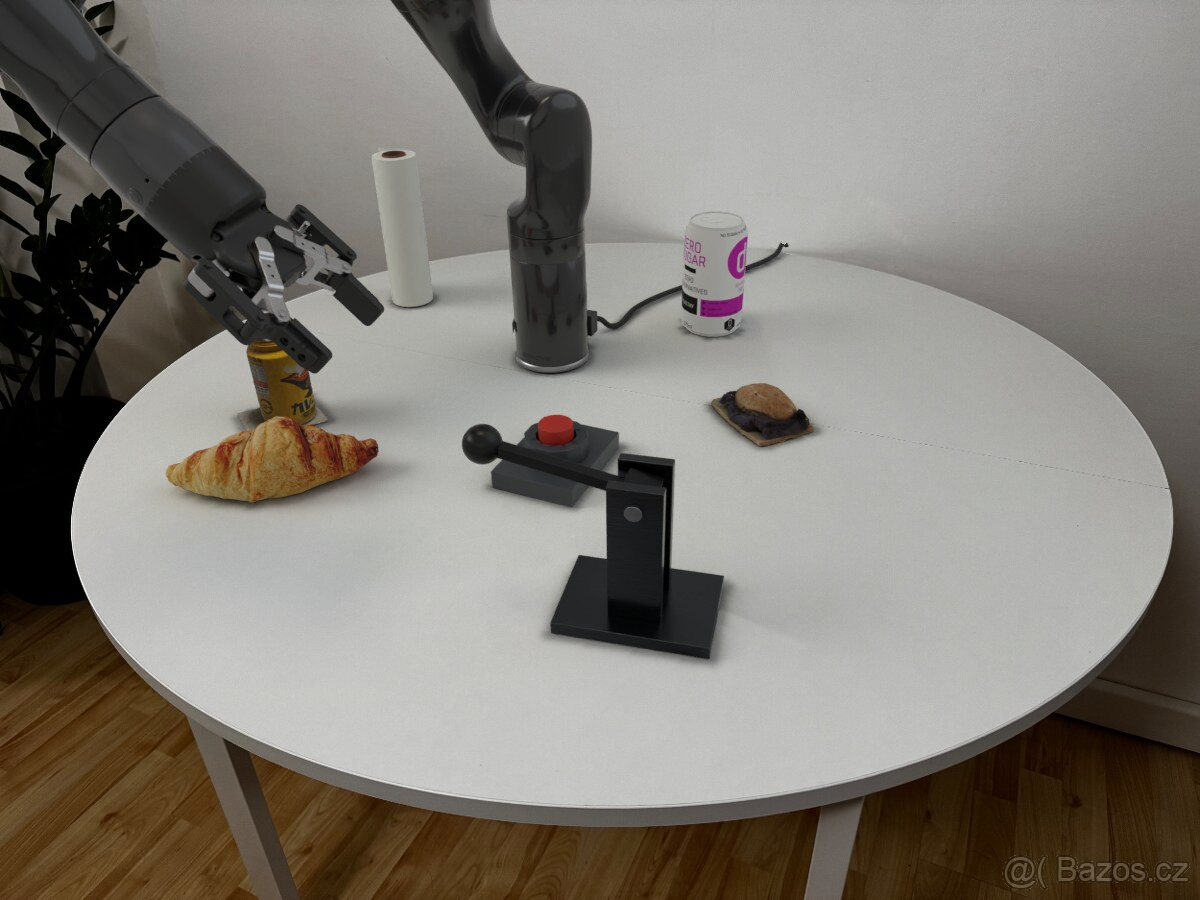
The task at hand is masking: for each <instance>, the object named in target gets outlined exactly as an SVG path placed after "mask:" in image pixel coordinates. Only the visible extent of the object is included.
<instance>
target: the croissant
mask: <svg viewBox="0 0 1200 900" xmlns="http://www.w3.org/2000/svg"><path fill="white" fill-rule="evenodd" d="M379 451H380V450H379V445H378V442H377V440H376V439H374V438H367V439H361V440H359V439H357V438H356V437H355V436H354V435H351V434H346V433H340V434H334V433H332V432H331V433H330V432H328V431H326V430H324V429H323V428H320V427H319V426H317V427H316V424H315V425H314V424H310V425H306V424H305V425H298V422H296V421H294V420H293V419H291V418H289V417H278V416H277V417H273V418H272V419H270V420H268V421H266V422H264V423H261V424H259V425H258V426H257V428H256V429H254V430H249V431H246V430H243V431H241V432H237V433H234V434H232V435H229V436H227V437H225V438H223V439H222V440H221V441H220V442H219V443H218V444H216V445H212V447H207V448H204V449H199V450H196V451H194V452H193V453H191V454H190V455H189V456H187V457H185V458H184V459H182V461H181V462H178V463H173V464H170V465H168V467H167V468H166V470H165V477H166V479H167V481H168V482H169V483H170V484H171V485H173V486H175V487H179V488H181V489H183V490H188V491H191V492H193V493H195V494H198V495H202V496H205V497H208V496H209V497H210V496H211V497H216V498H220V499H223V500H237V501H243V502H249V503H250V504H251V503H256V502H258V501H261V500H265V499H280V498H287V497H289V496H293V495H298V494H302V493H304V492H306V491H308V490H310V489H312V488H315V487H318V486H320V485H323V484H326V483H329V482H332V481H337V480H339V479H342V478H344V477H347V476H349V475H351V474H354V473H356V472H358V471H359V470H361V469H362V468H363V467H364V466H366V465H367V464H369V463H370V462H371V461H372V460H373V459H375V458H377V456H378V454H379Z"/></svg>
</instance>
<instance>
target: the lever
mask: <svg viewBox="0 0 1200 900" xmlns="http://www.w3.org/2000/svg"><path fill="white" fill-rule="evenodd" d="M461 449H462V452H463V454H464V457H466V458H467V459H468V460H469V462H472V463H474V464H475V465H489V464H491V463H493V462H495V461H496V460H497V459H498V460H501V461H502V460H506V461H509V462H512V463H515V464H519V465H522V466H525V467H529V468H532V469H535V470H538V471H542V472H545V473H548V474H552V475H555V476H558V477H561V478H565V479H568V480H571V481H575V482H578V483H581V484H584V485H588V487H591V488H595V489H598V490H601V491H605V492H606V486H607V483H608V481H617V482H625V483H633V484H641V485H649V486H657V487H662V485H663V481H664V478H663V477H660V476H656V475H653V474H650V473H647V472H643V471H640V470H637V469H633V468H629V471H628V473H627V476H626V478H624V477H620V476H618V474H613V473H610V472H606V471H604V470H601V471H600V470H597V469H594V468H590V467H587V466H584V465H581V464H577V463H574V462H571V461H567V460H564V459H561V458H557V457H554V456H551V455H547V454H544V453H541V452H538V451H534V450H531V449H528V448H524V447H521V446H518V445H517V444H515V443H511V442H507V441H505V440H503V436H502V435H501V432H499V430H498V429H497V428H495V426H492V425H491V424H488V423H477V424H475V425H472V426H470V427H469V428H468V429H467V430H466V431H465V433H464V434H463V436H462V439H461Z"/></svg>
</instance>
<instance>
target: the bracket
mask: <svg viewBox="0 0 1200 900" xmlns="http://www.w3.org/2000/svg"><path fill="white" fill-rule="evenodd" d="M629 468H633V469H637V470H640V471H643V472H647V473H650V474H653V475H656V476H660V477H663V478H664V481H663V485H662V487H657V486H649V485H641V484H633V483H625V482H617V481H608V483H607V486H606V491H605V529H606V530H605V534H606V536H605V537H606V541H605V543H606V558H603V557H598V556H592V555H591V556H589V555H583V554H578V555H577V558H576V560H575V562H574V565H573V567H572V570H571V572H570V574H569V577H568V580H567V582H566V584H565V586H564V589H563V591H562V593H561V596H560V599H559V600H558V603H557V606H556V607H555V610H554V612H553V614H552V618H551V620H550V622H549V624H550V625H549V626H550V634H551V635H559V636H564V637H570V638H576V639H583V640H589V641H596V642H601V643H606V644H607V643H608V644H612V645H618V646H619V645H620V646H626V647H633V648H637V649H644V650H649V651H656V652H662V653H668V654H673V655H680V656H686V657H691V658H698V659H704V660H710V658H711V653H712V648H713V641H714V637H715V633H716V626H717V621H718V617H719V611H720V605H721V600H722V595H723V591H724V583H725V575H721V574H715V573H710V572H703V571H702V572H701V571H695V570H687V569H681V568H674V567H672V565H673V564H672V560H673V558H672V557H673V537H674V536H673V534H674V533H673V532H674V530H673V529H674V508H675V507H674V506H675V502H674V501H675V478H676V459H675V458H669V457H659V456H651V455H643V454H642V455H641V454H635V453H626V452H620V453H619V455H618V458H617V476H620V477H624V478H626V476H627V473H628V471H629Z"/></svg>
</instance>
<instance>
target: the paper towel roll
mask: <svg viewBox="0 0 1200 900" xmlns="http://www.w3.org/2000/svg"><path fill="white" fill-rule="evenodd" d="M417 158H418V157H417V153H416V152H415V151H413V150H409V149H402V148H383V147H378V151H377V152H375V153H373V154H371V164H372V170H373V177H374V178H373V179H374V185H375V193H376V197H377V198H376V200H377V205H378V211H379V212H378V213H379V217H380V225H381V233H382V237H383V245H384V246H383V247H384V252H385V258H386V266H387V272H388V273H387V274H388V280H389V285H390V293H391V299H392V300H391V301H392V302H393V304H394V305H396V306H399V307H406V308H414V307H420V306H424V305H426V304H429V303H431V302H432V301H433V300H434V292H433V291H434V290H433V284H432V282H433V281H432V275H431V268H430V267H431V266H430V265H431V264H430V258H429V250H428V249H429V248H428V240H427V233H426V232H427V231H426V226H425V218H424V209H423V200H422V193H421V185H420V184H421V183H420V175H419V166H418V159H417Z"/></svg>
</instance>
